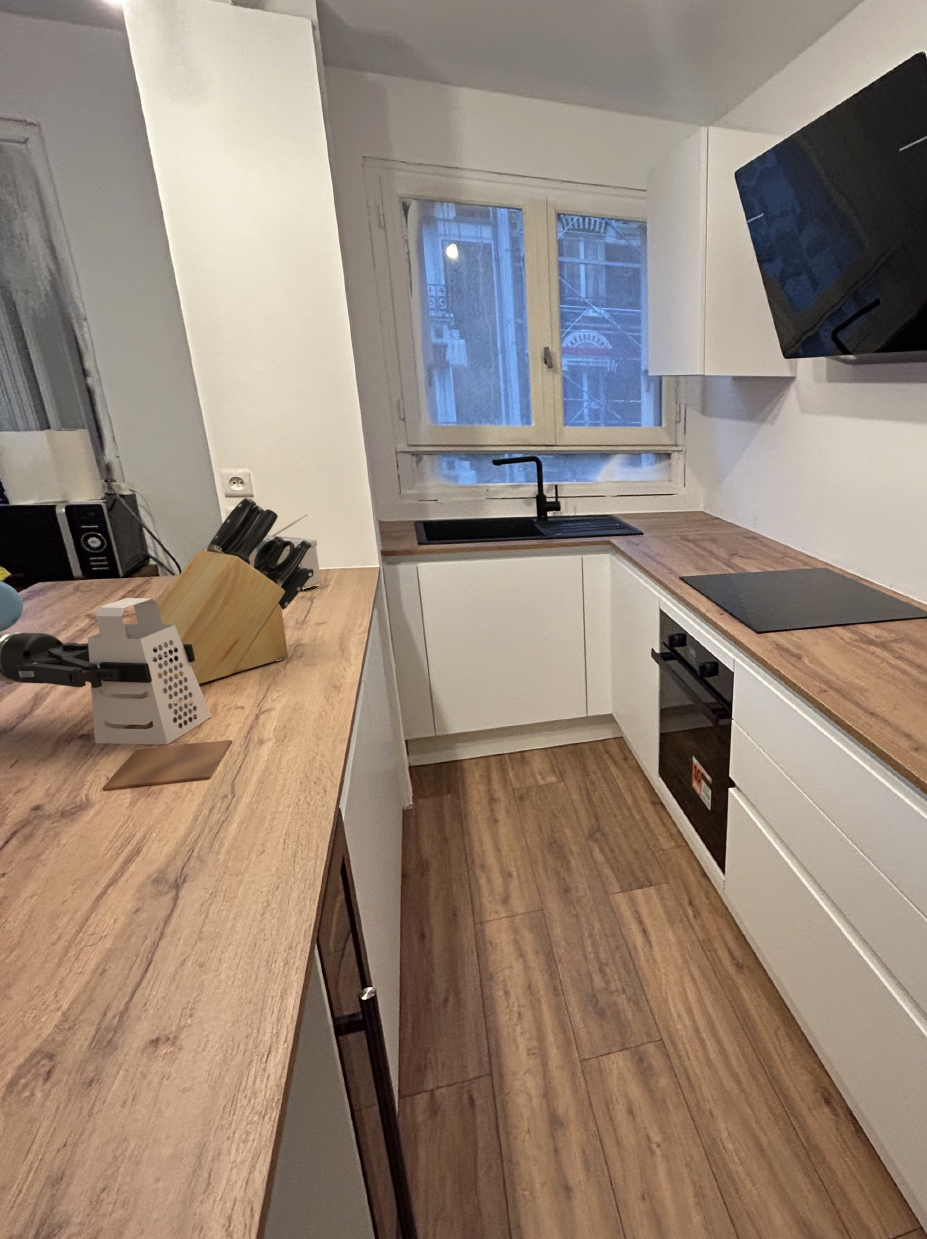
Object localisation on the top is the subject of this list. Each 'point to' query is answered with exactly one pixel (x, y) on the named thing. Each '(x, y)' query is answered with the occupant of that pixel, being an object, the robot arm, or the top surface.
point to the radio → (307, 562)
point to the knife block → (236, 596)
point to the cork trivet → (169, 764)
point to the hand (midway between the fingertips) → (170, 662)
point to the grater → (143, 700)
